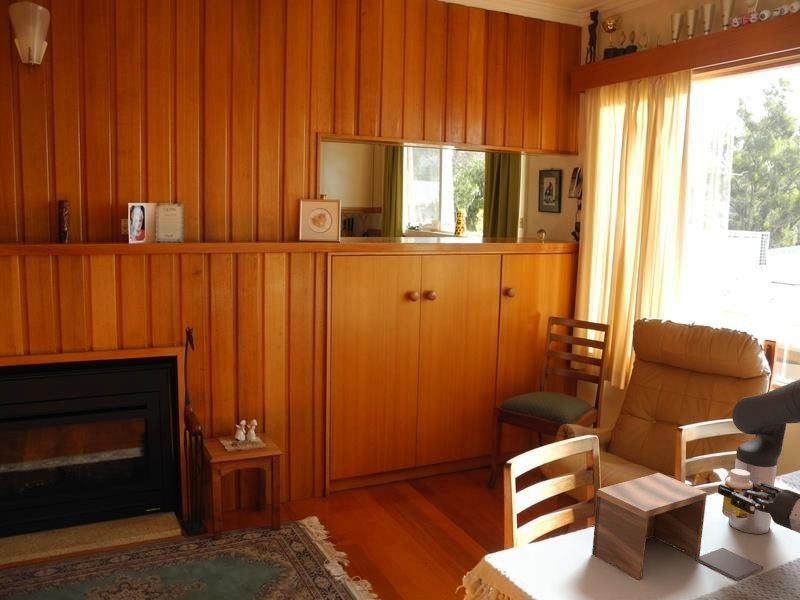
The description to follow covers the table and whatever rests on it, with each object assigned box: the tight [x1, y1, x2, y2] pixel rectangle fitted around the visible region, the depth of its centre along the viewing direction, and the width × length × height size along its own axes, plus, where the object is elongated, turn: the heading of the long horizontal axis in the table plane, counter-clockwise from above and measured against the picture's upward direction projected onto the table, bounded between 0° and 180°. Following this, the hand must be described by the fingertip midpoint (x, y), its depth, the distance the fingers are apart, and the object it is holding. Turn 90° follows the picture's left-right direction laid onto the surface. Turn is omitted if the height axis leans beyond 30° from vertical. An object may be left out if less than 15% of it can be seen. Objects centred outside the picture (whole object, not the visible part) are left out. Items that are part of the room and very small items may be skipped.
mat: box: [695, 547, 764, 581], centre depth 170 cm, size 10×10×1 cm
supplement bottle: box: [721, 468, 753, 520], centre depth 167 cm, size 6×6×10 cm
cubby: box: [591, 472, 708, 581], centre depth 171 cm, size 21×13×16 cm, turn 124°
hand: (727, 486), depth 169 cm, fingers closed on supplement bottle, 5 cm apart
